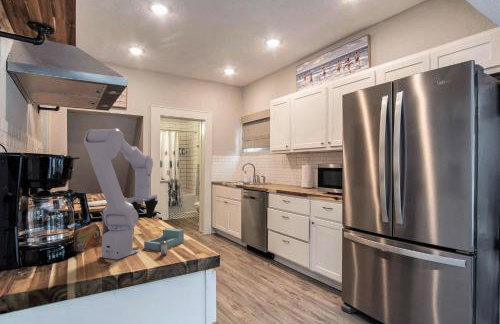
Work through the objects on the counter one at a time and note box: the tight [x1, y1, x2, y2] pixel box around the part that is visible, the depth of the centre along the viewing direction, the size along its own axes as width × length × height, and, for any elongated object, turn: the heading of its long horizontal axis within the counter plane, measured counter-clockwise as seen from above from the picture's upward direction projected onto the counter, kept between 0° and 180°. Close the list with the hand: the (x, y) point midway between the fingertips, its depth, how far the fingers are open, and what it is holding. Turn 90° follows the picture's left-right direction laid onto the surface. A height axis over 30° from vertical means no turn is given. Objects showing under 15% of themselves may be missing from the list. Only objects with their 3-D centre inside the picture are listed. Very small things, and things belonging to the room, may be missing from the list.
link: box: [143, 227, 185, 252], centre depth 111 cm, size 13×8×5 cm, turn 156°
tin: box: [71, 224, 101, 253], centre depth 107 cm, size 15×3×8 cm, turn 179°
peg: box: [160, 241, 168, 257], centre depth 99 cm, size 2×2×5 cm
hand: (142, 219), depth 115 cm, fingers open, 7 cm apart
